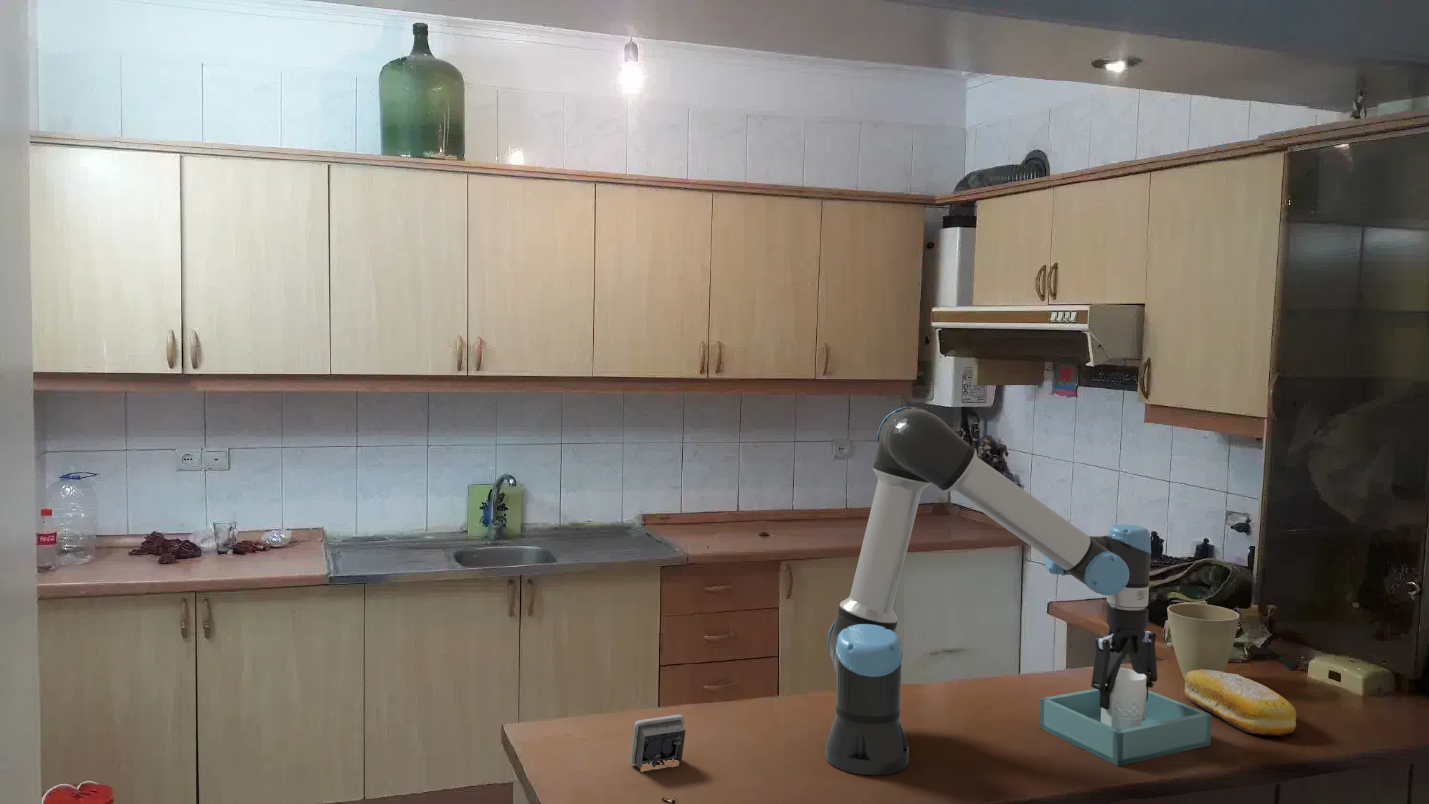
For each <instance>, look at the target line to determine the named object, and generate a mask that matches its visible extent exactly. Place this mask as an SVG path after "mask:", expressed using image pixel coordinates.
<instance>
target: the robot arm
mask: <svg viewBox="0 0 1429 804" xmlns="http://www.w3.org/2000/svg"><path fill="white" fill-rule="evenodd" d="M876 435H877V446H878V447H877V450H876V455H875V460H874V464H873V467H872V470H873V472H874V473H875V476H876V477H877V483H876V488H875V491H874V497H873V500H872V504H871V508H870V513H869V515H868V521H867V525H866V527H865V532H864V536H863V541H862V545H861V550H860V553H859V557H858V561H857V565H856V570H855V573H854V577H853V582H852V584H851V585H852V586H851V590H850V593H849V596H848V597H847V598H846V599H844V600H842V601H841V602H840V603H839V606H838V610H837V615H836V619H835V620H834V622H833V623H832V625H831V627H830V629H829V631H828V636H827V649H828V653H829V657H830V658H831V661H832V664H833V667H834V670H835V674H836V675H835V676H836V679H835V680H836V681H835V682H836V683H835V684H836V685H835V686H836V687H835V688H836V689H835V690H836V691H835V717H834V720H833V722H832V725H831V728H830V730H829V734H828V737H827V739H826V743H825V760H826V761H827V762H828V763H829V764H830V765H832V766H833V767H835V768H837V769H839V770H842V771H844V772H847V773H852V774H856V775H864V776H883V775H890V774H895V773H898V772H900V771H903V770H904V769H905V768H907V767H908V765H909V762H910V749H909V745H908V742H907V739H906V735H905V733H904V729H903V726H902V725H903V724H902V722H901V687H902V686H901V683H902V681H901V680H902V678H901V677H902V676H901V675H902V659H903V650H902V644H901V643H902V642H901V639H900V638H899V636H898V634H897V633H896V631H897V630H896V629H897V625H898V621H899V618H898V616H897V614H896V613H895V611H894V605H895V601H896V596H897V593H898V592H897V591H898V588H899V585H900V580H901V576H902V572H903V568H904V564H905V560H906V557H907V552H908V547H909V544H910V540H911V536H912V531H913V527H914V524H915V520H916V515H917V511H918V507H919V504H920V500H921V495H922V492H923V491H924V490H925V489H926V488H928V487H929V486H931V485H934V486H936V487H937V488H939V490H941V491H943V492H944V493H946V492H953V493H955V494H956V495H957V496H958V497H960V498H962V499H964V500H965V501H967V502H968V503H969V504H970V505H972V506H973V507H975V508H976V509H978V510H979V511H981V512H982V513H983V514H985V515H986V516H988V517H989V518H990V519H992V520H993V521H994V522H996V523H997V524H999V525H1001V526H1002V527H1003V528H1004V529H1006V530H1007V531H1009V532H1010V533H1012V534H1013V535H1015V536H1016V537H1017V538H1018V539H1020V540H1022V541H1023V542H1024V543H1026V544H1027V545H1029V546H1030V547H1031V548H1033V549H1034V550H1036V551H1038V553H1040V554H1042V555H1043V556H1044V557H1043V558H1044V564H1045V568H1046V570H1047V571H1048V572H1049V573H1050V574H1052V575H1060V576H1072V577H1073V578H1075V579H1076V580H1078V581H1079V582H1081V583H1082V584H1084V585H1085V586H1086V587H1087V588H1089V589H1090V590H1091V591H1093V592H1094V593H1096V594H1099V595H1102V596H1106V602H1107V603H1108V604H1107V605H1106V608H1105V609H1106V612H1105V613H1106V615H1105V621H1106V624H1107V625H1108V631H1107V635H1105V636H1104V637H1099V636H1097V637H1096V638H1095V649H1096V650H1095V658H1094V664H1093V670H1092V678H1091V684H1090V685H1091V688H1092V689H1098V690H1099V691H1100V704H1099V705H1100V707H1101V723H1104V724H1106V725H1108V726H1110V727H1114V719H1115V693H1114V692H1112V690H1113V687H1114V684H1115V679H1116V678H1117V674H1118V671H1119V668H1121V664H1122V663H1123V662H1122V661H1125V659H1126V656H1127V655H1128V657H1129V659H1130V662H1131V666H1132V667H1131V668H1132V670H1134V671H1135V672H1136V673H1138V674H1145V675H1146V676H1147V681H1146V693H1145V703H1144V712H1143V717H1142V721H1144V720H1146V702H1147V700H1148V690H1149V688H1150V689H1151V688H1153V687H1154V683H1156V682H1157V680H1158V673H1157V672H1158V670H1157V657H1156V655H1157V654H1156V645H1155V644H1156V641H1157V634H1156V632H1152V631H1149V630H1146V628H1147V627H1148V624H1149V610H1148V608H1147V607H1148V606H1149V594H1150V593H1149V590H1150V569H1151V554H1152V545H1151V543H1152V541H1151V533H1150V531H1149V530H1148V529H1147V528H1145V527H1143V526H1140V525H1134V524H1113V525H1111V526H1110V527H1109V529H1108V530H1109V531H1108V533H1107V535H1103V536H1102V535H1101V536H1098V535H1097V536H1096V535H1095V536H1093V535H1087V533H1085V532H1084V531H1082V530H1080V529H1079V528H1078V527H1077V526H1075V525H1074V524H1072V523H1071V522H1070V521H1068V520H1067V519H1065V518H1064V517H1063V516H1061V515H1059V514H1058V513H1057V512H1055V511H1054V510H1053V509H1052V508H1050V507H1048V506H1047V505H1046V504H1044V503H1043V502H1042V501H1040V500H1039V499H1037V498H1036V497H1034V496H1033V495H1031V493H1029V492H1027V491H1026V490H1024V489H1023V488H1022V487H1020V486H1019V485H1018V484H1016V483H1015V482H1014V481H1012V480H1010V479H1009V478H1008V477H1006V475H1004V474H1002V473H1000V472H999V471H998V470H997V469H995V468H994V467H992V466H991V465H989V464H988V463H986V462H985V461H984V460H982V459H981V458H980V457H978V453H977V449H976V448H975V447H973V446H972V445H971V444H969V443H968V442H967V441H966V440H964V439H963V438H962V437H961V436H960V435H959V434H958V433H956V432H955V431H954V430H953V429H952V428H951V427H950V426H949V425H948V424H946V422H945V421H944V420H942V419H941V417H939V416H937V415H936V414H934V413H932V412H929V411H927V410H925V409H922V408H920V407H914V406H905V407H901V408H898V409H895V410H894V411H892V412H889V414H888V415H886V416H885V417H884V418H883V420H882V422H881V424H880V426H879V428H878V431H877V434H876ZM1106 684H1107V686H1106Z"/></svg>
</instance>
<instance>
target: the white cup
mask: <svg viewBox="0 0 1429 804" xmlns="http://www.w3.org/2000/svg"><path fill="white" fill-rule="evenodd" d="M1146 681H1147V676H1146V675H1145V674H1138V673H1136V672H1135V671H1134V670H1133V669H1131V668H1130V669H1129V668H1124V667H1120V668H1119V671H1118V674H1117V678H1116V679H1115V684H1114V687H1113V690H1112V692H1114V693H1115V719H1114V727H1113V728H1116V729H1120V730H1123V729H1128V728H1132V727H1137V726H1142V717H1143V712H1144V703H1145V693H1146ZM1106 686H1107V684H1106Z"/></svg>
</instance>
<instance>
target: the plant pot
mask: <svg viewBox="0 0 1429 804" xmlns="http://www.w3.org/2000/svg"><path fill="white" fill-rule="evenodd" d="M1166 609H1167V610H1166V611H1167V619H1168V626H1169V632H1170V637H1171V642H1172V646H1173V650H1174V654H1175V657H1176V659H1177V660H1176V661H1177V663H1178V666H1179V670H1180V672H1181V675H1182V678H1183V679H1184V678H1185V677H1186V675H1187V673H1188V672H1190V671H1194V670H1202V669H1203V670H1213V671H1221V672H1225V670H1226V667H1227V665H1228V662H1229V659H1230V656H1231V653H1232V650H1233V646H1234V643H1235V640H1236V634H1237V630H1238V625H1239V620H1240V614H1239V613H1238V612H1237V611H1234V610H1233V609H1229V608H1226V607H1222V606H1217V605H1212V604H1204V603H1189V602H1187V603H1176V604H1170V605H1169V606H1168V607H1167V608H1166Z"/></svg>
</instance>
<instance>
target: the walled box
mask: <svg viewBox="0 0 1429 804" xmlns="http://www.w3.org/2000/svg"><path fill="white" fill-rule="evenodd" d="M1099 704H1100V691H1099V690H1098V689H1095V688H1091V689H1086V690H1080V691H1079V690H1078V691H1075V692H1069V693H1063V694H1057V695H1053V696H1045V697H1042V698H1039V719H1038V720H1039V723H1038V724H1039V725H1038V728H1039V729H1040V728H1041V729H1040V730H1042V729H1043V730H1042V731H1044V732H1046V731H1047V732H1046V733H1049V734H1051V735H1052V736H1055V737H1057V738H1059V739H1061V740H1063V741H1065V742H1067V743H1069V744H1071V745H1073V746H1075V745H1076V746H1075V747H1078V748H1079V747H1080V748H1079V749H1081V748H1082V750H1083V749H1084V751H1085V752H1088V753H1090V754H1092V755H1093V756H1095V757H1098V758H1100V759H1102V760H1104V761H1106V762H1108V763H1110V764H1113V765H1114V766H1117V767H1120V766H1124V765H1129V764H1133V763H1138V762H1141V761H1146V760H1150V759H1155V758H1161V757H1164V756H1168V755H1172V754H1173V755H1174V754H1178V753H1181V752H1186V751H1191V750H1196V749H1199V748H1205V747H1208V746H1211V735H1212V733H1211V732H1212V714H1211V713H1210V712H1205V710H1204V711H1203V710H1201V709H1198V708H1195V707H1193V706H1191V705H1187V704H1186V703H1182V702H1180V701H1177V700H1175V699H1172V698H1170V697H1168V696H1165V695H1162V694H1159V693H1156V692H1154V691H1152V690H1150V689H1148V700H1147V702H1146V720H1144V721H1142V726H1137V727H1132V728H1128V729H1123V730H1120V729H1116V728H1113V727H1110V726H1108V725H1106V724H1104V723H1101V707H1100V705H1099Z"/></svg>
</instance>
